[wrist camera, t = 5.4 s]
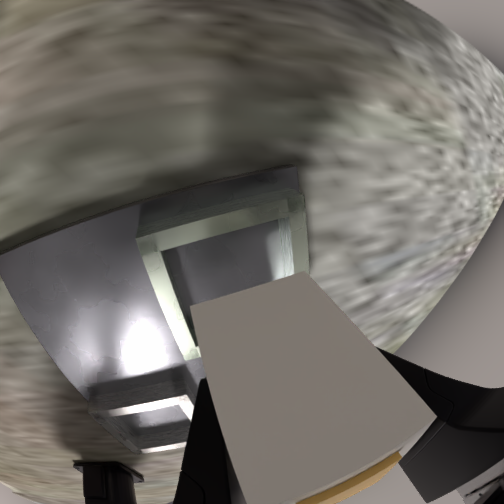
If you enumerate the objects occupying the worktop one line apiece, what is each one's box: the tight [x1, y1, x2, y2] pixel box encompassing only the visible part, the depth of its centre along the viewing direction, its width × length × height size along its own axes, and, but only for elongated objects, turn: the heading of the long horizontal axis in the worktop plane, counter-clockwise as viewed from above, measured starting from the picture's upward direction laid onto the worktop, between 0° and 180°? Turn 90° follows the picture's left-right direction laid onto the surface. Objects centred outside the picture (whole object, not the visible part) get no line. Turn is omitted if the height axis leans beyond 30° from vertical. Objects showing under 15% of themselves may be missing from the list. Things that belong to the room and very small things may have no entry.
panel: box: [0, 165, 310, 454], centre depth 15 cm, size 19×16×2 cm
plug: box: [190, 271, 437, 504], centre depth 7 cm, size 4×4×7 cm
